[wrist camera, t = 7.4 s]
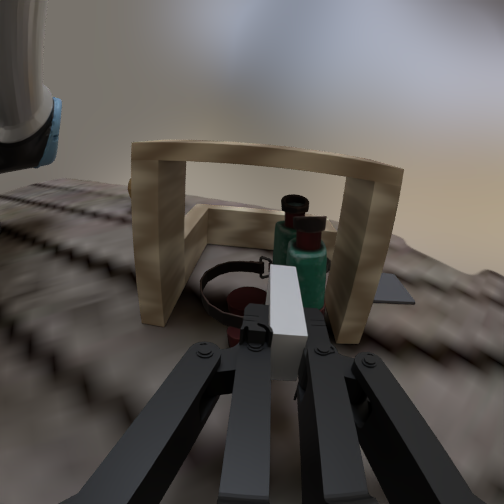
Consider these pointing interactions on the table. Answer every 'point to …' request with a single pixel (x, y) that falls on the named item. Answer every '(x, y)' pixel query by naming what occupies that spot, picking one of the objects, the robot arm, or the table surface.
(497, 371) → the table surface
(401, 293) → the mat
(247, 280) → the table surface
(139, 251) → the tunnel
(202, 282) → the binoculars
